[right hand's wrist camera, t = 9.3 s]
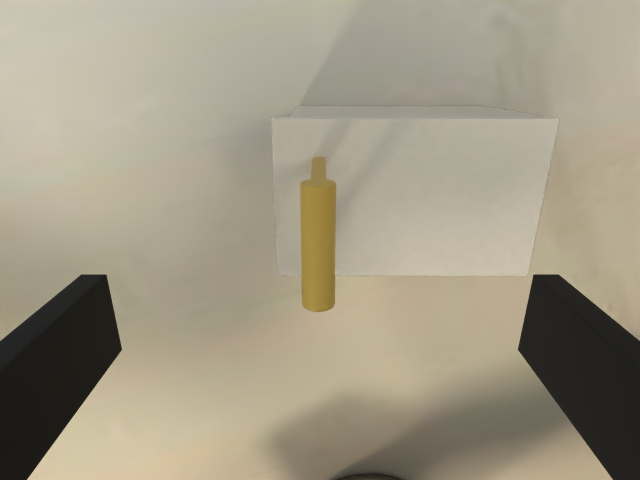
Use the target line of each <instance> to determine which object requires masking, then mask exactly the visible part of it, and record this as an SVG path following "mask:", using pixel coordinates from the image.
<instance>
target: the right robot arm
mask: <svg viewBox="0 0 640 480" xmlns="http://www.w3.org/2000/svg"><path fill="white" fill-rule="evenodd" d="M121 350H122V347H121V343H120V338H119V333H118V328H117V323H116V319H115V314H114V309H113V304H112V299H111V295H110V290H109V285H108V280H107V275H80V276H79V277H78V278H77V279H75V280H74V281H73V282H72V283H71V284H69V285H68V286H67V287H66V288H64V289H63V290H62V291H61V292H60V293H58V294H57V295H56V296H55V297H54V298H52V299H51V300H50V301H49V302H47V303H46V304H45V305H44V306H43V307H41V308H40V309H39V310H38V311H36V312H35V313H34V314H33V315H32V316H30V317H29V318H28V319H27V320H26V321H24V322H23V323H22V324H21V325H19V326H18V327H17V328H16V329H15V330H13V331H12V332H11V333H10V334H8V335H7V336H6V337H5V338H4V339H2V340H1V341H0V480H27V479H28V477H29V476H30V475H31V473H32V472H33V471H34V469H35V468H36V466H37V465H38V464H39V462H40V461H41V460H42V458H43V457H44V456H45V454H46V453H47V451H48V450H49V449H50V447H51V446H52V445H53V443H54V442H55V441H56V439H57V438H58V436H59V435H60V434H61V432H62V431H63V430H64V428H65V427H66V425H67V424H68V423H69V421H70V420H71V419H72V417H73V416H74V415H75V413H76V412H77V410H78V409H79V408H80V406H81V405H82V404H83V402H84V401H85V399H86V398H87V397H88V395H89V394H90V393H91V391H92V390H93V389H94V387H95V386H96V384H97V383H98V382H99V380H100V379H101V378H102V376H103V375H104V373H105V372H106V371H107V369H108V368H109V367H110V365H111V364H112V363H113V361H114V360H115V358H116V357H117V356H118V354H119V353H120V352H121ZM518 350H519V352H520V353H521V354H522V356H523V357H524V358H525V360H526V361H527V363H528V364H529V365H530V367H531V368H532V369H533V371H534V372H535V373H536V375H537V376H538V378H539V379H540V380H541V382H542V383H543V384H544V386H545V387H546V389H547V390H548V391H549V393H550V394H551V395H552V397H553V398H554V399H555V401H556V402H557V404H558V405H559V406H560V408H561V409H562V410H563V412H564V413H565V415H566V416H567V417H568V419H569V420H570V421H571V423H572V424H573V425H574V427H575V428H576V430H577V431H578V432H579V434H580V435H581V436H582V438H583V439H584V441H585V442H586V443H587V445H588V446H589V447H590V449H591V450H592V451H593V453H594V454H595V456H596V457H597V458H598V460H599V461H600V462H601V464H602V465H603V466H604V468H605V469H606V471H607V472H608V473H609V475H610V476H611V477H612V479H613V480H640V341H639V340H638V339H636V338H635V337H634V336H633V335H632V334H630V333H629V332H628V331H627V330H625V329H624V328H623V327H622V326H621V325H619V324H618V323H617V322H616V321H614V320H613V319H612V318H611V317H610V316H608V315H607V314H606V313H605V312H604V311H602V310H601V309H600V308H599V307H597V306H596V305H595V304H594V303H593V302H591V301H590V300H589V299H588V298H586V297H585V296H584V295H583V294H582V293H580V292H579V291H578V290H577V289H576V288H574V287H573V286H572V285H571V284H569V283H568V282H567V281H566V280H565V279H563V278H562V277H561V276H560V275H533V280H532V285H531V290H530V295H529V299H528V304H527V309H526V314H525V319H524V323H523V328H522V333H521V338H520V343H519V347H518Z"/></svg>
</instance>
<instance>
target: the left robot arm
mask: <svg viewBox="0 0 640 480" xmlns="http://www.w3.org/2000/svg"><path fill="white" fill-rule="evenodd" d="M340 480H399V479H396V478H393V477H389V476H384V475H373V474H366V475H356V476H350V477H346V478H343V479H340Z"/></svg>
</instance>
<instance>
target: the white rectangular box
mask: <svg viewBox="0 0 640 480" xmlns="http://www.w3.org/2000/svg"><path fill="white" fill-rule="evenodd" d="M559 120H560V119H559V118H553V117H273V118H272V119H271V129H272V153H273V177H274V201H275V225H276V249H277V274H278V276H302V305H303V307H304V308H306V309H307V310H310V311H314V312H323V311H327V310H329V309H331V308H332V307H333V306H334V304H335V276H528V272H529V268H530V263H531V258H532V253H533V248H534V243H535V238H536V233H537V228H538V223H539V218H540V213H541V208H542V203H543V199H544V194H545V189H546V184H547V179H548V174H549V169H550V164H551V159H552V154H553V149H554V144H555V139H556V135H557V130H558V125H559Z"/></svg>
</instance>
